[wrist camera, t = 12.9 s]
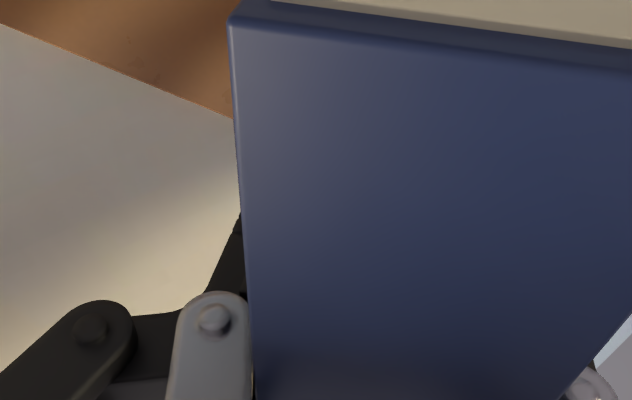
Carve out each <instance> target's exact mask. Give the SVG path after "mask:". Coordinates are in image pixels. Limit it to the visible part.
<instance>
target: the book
mask: <svg viewBox="0 0 632 400" xmlns="http://www.w3.org/2000/svg"><path fill="white" fill-rule="evenodd" d="M226 32H227V45H228V57H229V70H230V82H231V95H232V107H233V120H234V133H235V145H236V158H237V170H238V183H239V195H240V208H241V221H242V233H243V246H244V258H245V271H246V283H247V296H248V308H249V321H250V334H251V346H252V359H253V371H254V384H255V396H256V400H559V399H560V397H561V396H562V395H563V394H564V393H565V392H566V390H567V389H568V388H569V387H570V386H571V384H572V383H573V382H574V381H575V380H576V379H577V377H578V376H579V375H580V374H581V373H582V372H583V370H584V369H585V368H586V367H587V366H588V364H589V363H590V362H591V361H592V360H593V359H594V357H595V356H596V355H597V354H598V353H599V351H600V350H601V349H602V348H603V347H604V346H605V344H606V343H607V342H608V341H609V340H610V339H611V337H612V336H613V335H614V334H615V333H616V331H617V330H618V329H619V328H620V327H621V326H622V324H623V323H624V322H625V321H626V320H627V319H628V317H629V316H630V315H631V314H632V0H241V1H240V2H239V3H238V5H237V6H236V7H235V8H234V10H233V11H232V12H231V13H230V15H229V16H228V18H227V21H226Z"/></svg>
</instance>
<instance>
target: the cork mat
mask: <svg viewBox="0 0 632 400" xmlns="http://www.w3.org/2000/svg"><path fill="white" fill-rule="evenodd" d="M240 1H241V0H0V24H3V25H5V26H8V27H10V28H13V29H15V30H17V31H20V32H22V33H25V34H27V35H30V36H32V37H34V38H37V39H39V40H42V41H44V42H47V43H49V44H51V45H54V46H56V47H59V48H61V49H64V50H66V51H69V52H71V53H73V54H76V55H78V56H81V57H83V58H86V59H88V60H90V61H93V62H95V63H98V64H100V65H103V66H105V67H107V68H110V69H112V70H115V71H117V72H120V73H122V74H124V75H127V76H129V77H132V78H134V79H137V80H139V81H142V82H144V83H146V84H149V85H151V86H154V87H156V88H159V89H161V90H163V91H166V92H168V93H171V94H173V95H176V96H178V97H180V98H183V99H185V100H188V101H190V102H193V103H195V104H198V105H200V106H202V107H205V108H207V109H210V110H212V111H215V112H217V113H219V114H222V115H224V116H227V117H229V118H232V119H233V107H232V95H231V82H230V70H229V57H228V45H227V32H226V21H227V18H228V16H229V15H230V13H231V12H232V11H233V10H234V8H235V7H236V6H237V5H238V3H239V2H240Z"/></svg>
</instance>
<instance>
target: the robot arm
mask: <svg viewBox="0 0 632 400" xmlns="http://www.w3.org/2000/svg"><path fill="white" fill-rule="evenodd" d="M0 400H256V396H255V384H254V371H253V359H252V346H251V334H250V321H249V308H248V296H247V283H246V271H245V258H244V246H243V233H242V221H241V212H240V214H239V219H237V221H236V223H235V226H234V228H233V232H232V234H231V235H230V237H229V239H228V241H227V244H226V246H225V248H224V250H223V253H222V255H221V257H220V259H219V261H218V264H217V266H216V268H215V270H214V273H213V275H212V277H211V279H210V282H209V284H208V286H207V288H206V289H205V291H204V292H203V293H202V294H201V295H199V296H197V297H195V298H193V299H192V300H191V301H189V302H188V303H187V304H186V305H185V306H184V308H182V309H179V310H176V311H173V312H168V313H160V314H150V315H140V316H131V315H130V313H129V312H128V310H127V309H126V308H125V307H124V306H122V305H121V304H119V303H117V302H113V301H109V300H96V301H91V302H88V303H84V304H82V305H80V306H78V307H76V308H74V309H73V310H71V311H70V312H68V313H67V314H66V315H65V316H64V317H62V318H61V319H60V320H59V321H58V322H57V323H56V324H55V325H53V326H52V327H51V328H50V329H49V330H48V331H47V332H46V333H45V334H43V335H42V336H41V337H40V338H39V339H38V340H37V341H36V342H34V343H33V344H32V345H31V346H30V347H29V348H28V349H27V350H26V351H24V352H23V353H22V354H21V355H20V356H19V357H18V358H17V359H15V360H14V361H13V362H12V363H11V364H10V365H9V366H8V367H7V368H5V369H4V370H3V371H2V372H1V373H0ZM559 400H618V397H617V395H616V394H615V392H614V390H613V389H612V387H611V386H610V385H609V383H608V382H607V381H606V380H605V379H604V378H603V377H602V376H601V375H599V374H598V373H597V371H596V368H595V365H594V361H593V360H592V361H591V362H590V363H589V364H588V366H587V367H586V368H585V369H584V370H583V372H582V373H581V374H580V375H579V376H578V377H577V379H576V380H575V381H574V382H573V383H572V384H571V386H570V387H569V388H568V389H567V390H566V392H565V393H564V394H563V395H562V396H561V397H560V399H559Z"/></svg>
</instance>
